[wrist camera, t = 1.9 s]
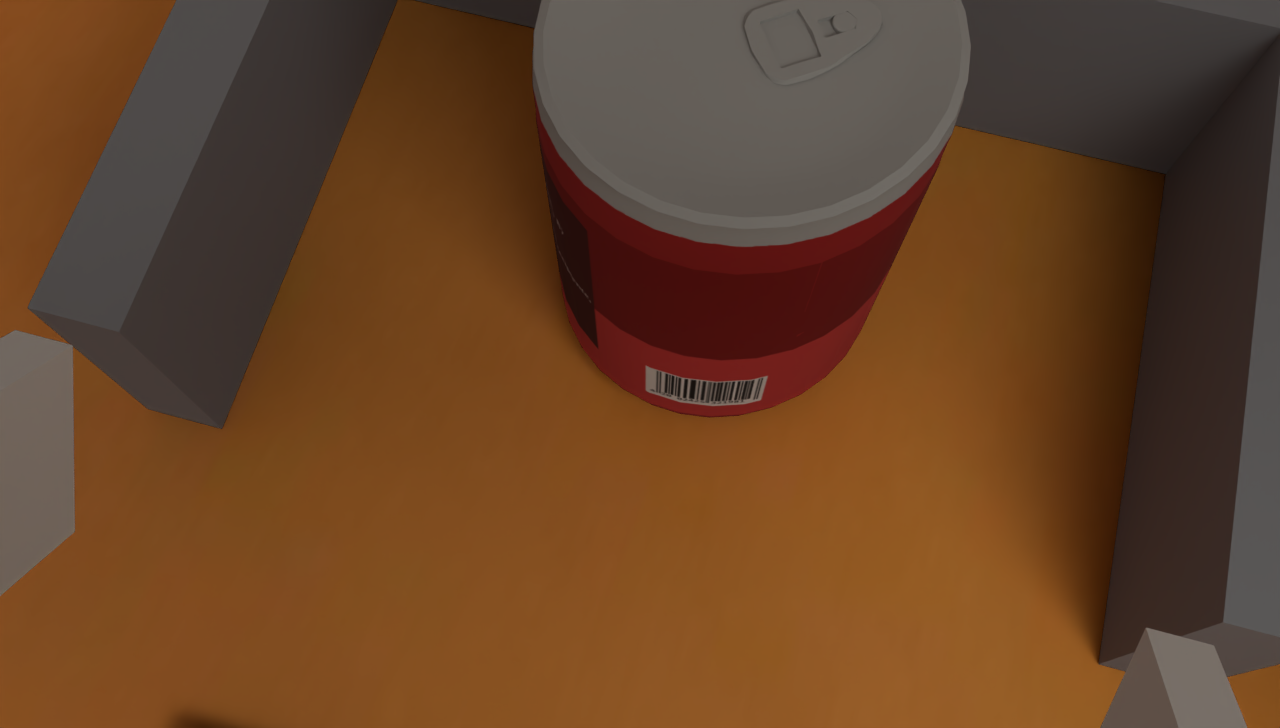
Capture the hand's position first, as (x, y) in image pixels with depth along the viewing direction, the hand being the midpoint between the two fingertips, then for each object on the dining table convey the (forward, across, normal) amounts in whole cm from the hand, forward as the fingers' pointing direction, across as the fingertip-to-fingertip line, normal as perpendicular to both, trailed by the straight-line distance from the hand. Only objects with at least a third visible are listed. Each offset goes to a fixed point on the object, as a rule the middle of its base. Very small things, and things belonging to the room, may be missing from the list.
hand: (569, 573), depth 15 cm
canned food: (+18, 0, -3) cm, 18 cm away
